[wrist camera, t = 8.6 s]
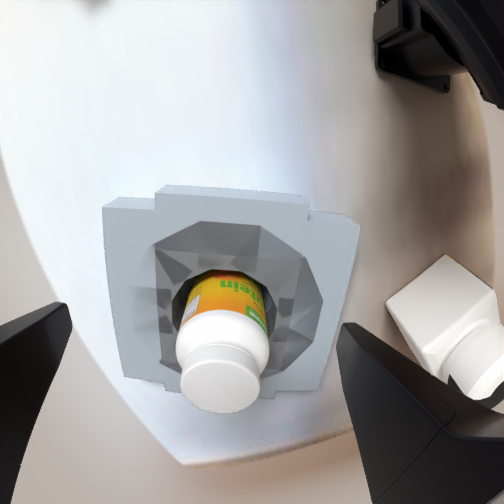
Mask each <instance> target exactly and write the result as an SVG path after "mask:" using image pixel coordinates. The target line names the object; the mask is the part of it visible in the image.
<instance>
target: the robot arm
mask: <svg viewBox="0 0 504 504" xmlns="http://www.w3.org/2000/svg"><path fill="white" fill-rule="evenodd" d="M382 2H384V3H385V5H384V4H383V3H382ZM373 41H374V43H375V44H376V54H375V67H376V68H377V70H378V71H380V72H383V73H386V74H390V75H393V76H396V77H399V78H402V79H405V80H408V81H411V82H414V83H416V84H419V85H422V86H424V87H427V88H430V89H432V90H435V91H437V92H440V93H443V94H445V93H448V92H449V90H450V75H453V74H459V73H465V72H469V73H470V75H471V77H472V78H473V80H474V82H475V83H476V85H477V87H478V88H479V90H480V95H481V96H482V98H483V100H484V101H487V102H489V103H492V104H495V105H496V106H497V108H499V109H501V110H504V0H377V2H376V12H375V13H374V28H373ZM381 62H382V63H383V64H384V66H385V67H384V68H383V67H382V66H381V64H380V63H381ZM443 86H444V88H445V89H443ZM71 331H72V321H71V317H70V313H69V309H68V306H67V304H65V303H61V302H54V303H51V304H49V305H47V306H45V307H43V308H40V309H37V310H35V311H33V312H31V313H28V314H26V315H24V316H21V317H19V318H17V319H15V320H12V321H10V322H8V323H5V324H3V325H1V326H0V504H10V503H11V500H12V496H13V492H14V488H15V484H16V480H17V477H18V473H19V470H20V467H21V465H20V464H21V463H22V460H23V456H24V454H25V450H26V447H27V444H28V441H29V439H30V436H31V433H32V430H33V428H34V425H35V422H36V420H37V417H38V414H39V412H40V409H41V407H42V404H43V402H44V399H45V397H46V395H47V392H48V390H49V388H50V385H51V383H52V381H53V378H54V376H55V374H56V372H57V370H58V367H59V365H60V362H61V359H62V356H63V354H64V350H65V348H66V345H67V342H68V340H69V337H70V334H71ZM336 351H337V357H338V363H339V369H340V375H341V381H342V387H343V392H344V395H345V399H346V403H347V406H348V410H349V413H350V417H351V421H352V424H353V428H354V432H355V435H356V439H357V443H358V446H359V451H360V455H361V458H362V463H363V467H364V471H365V475H366V479H367V483H368V487H369V491H370V495H371V500H372V503H373V504H504V414H501V413H498V412H496V411H494V410H492V409H490V408H488V407H486V406H484V405H482V404H481V403H479V402H477V401H475V400H473V399H472V398H470V397H468V396H466V395H464V394H463V393H461V392H459V391H457V390H456V389H454V388H452V387H451V386H449V385H448V384H446V383H444V382H443V381H441V380H440V379H438V378H437V377H435V376H434V375H431V373H429V372H428V371H427V370H425V369H424V368H422V367H421V366H419V365H418V364H416V363H415V362H413V361H412V360H410V359H409V358H407V357H406V356H404V355H403V354H401V353H400V352H398V351H397V350H395V349H394V348H392V347H391V346H389V345H388V344H386V343H385V342H384V341H382V340H381V339H379V338H378V337H376V336H375V335H373V334H372V333H370V332H369V331H367V330H366V329H364V328H363V327H361V326H360V325H358V324H357V323H354V322H351V323H343V324H342V326H341V329H340V333H339V337H338V340H337V345H336Z"/></svg>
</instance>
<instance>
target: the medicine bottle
mask: <svg viewBox="0 0 504 504" xmlns="http://www.w3.org/2000/svg"><path fill="white" fill-rule="evenodd" d="M385 304H386V307H387V309H388V311H389V312H390V314H391V316H392V318H393V319H394V321H395V323H396V324H397V326H398V328H399V330H400V332H401V333H402V335H403V337H404V339H405V340H406V342H407V344H408V346H409V348H410V349H411V351H412V352H413V354H414V355H415V357H416V358H417V359H418V361H419V362H420V364H421V365H422V367H423V368H424V369H425V370H427V371H428V372H429V373H431V375H434V376H435V377H437V378H438V379H440V380H441V381H443V382H444V383H446V384H448V385H449V386H451V387H452V388H454V389H456V390H457V391H459V392H461V393H463V394H464V395H466V396H468V397H470V398H472V399H473V400H475V401H477V402H479V403H481V404H482V405H484V406H486V407H488V408H490V409H491V408H493V407H495V406H496V405H497V404H499V403H500V402H501V401H502V400H503V399H504V327H503V326H502V325H501V324H500V317H499V310H498V304H497V298H496V293H495V291H494V289H493V288H492V287H490V286H489V285H488V284H487V283H485V282H484V281H483V280H481V279H480V278H479V277H477V276H476V275H475V274H473V273H472V272H471V271H469V270H468V269H467V268H465V267H464V266H463V265H461V264H460V263H458V262H457V261H456V260H454V259H453V258H451V257H450V256H449V255H443V256H442V257H441V258H440V259H439V260H437V261H436V262H435V263H434V264H433V265H431V266H430V267H429V268H428V269H427V270H425V271H424V272H423V273H422V274H420V275H419V276H418V277H417V278H416V279H414V280H413V281H412V282H410V283H409V284H408V285H407V286H405V287H404V288H403V289H401V290H400V291H399V292H398V293H396V294H395V295H394V296H392V297H391V298H390V299H388V300H387V301H386V303H385Z"/></svg>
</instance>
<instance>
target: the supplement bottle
mask: <svg viewBox="0 0 504 504" xmlns="http://www.w3.org/2000/svg"><path fill="white" fill-rule="evenodd" d="M269 352H270V351H269V338H268V332H267V324H266V316H265V309H264V300H263V294H262V289H261V286H260V284H259V282H258V281H257V280H255V279H253V278H252V277H250V276H249V275H247V274H245V273H244V272H242V271H231V270H218V269H210V270H208V271H206V272H203V273H201V274H200V275H199V276H198V277H197V278H196V280H195V281H194V283H193V286H192V288H191V291H190V294H189V298H188V301H187V304H186V308H185V311H184V315H183V318H182V322H181V325H180V329H179V332H178V336H177V341H176V356H177V360H178V362H179V364H180V366H181V368H182V374H181V380H180V386H181V391H182V393H183V395H184V396H185V398H186V399H187V400H188V401H189V402H190V403H191V404H193V405H194V406H196V407H198V408H200V409H202V410H205V411H208V412H213V413H233V412H238V411H240V410H243V409H245V408H247V407H249V406H250V405H251V404H253V403H254V402H255V400H256V399H257V397H258V395H259V392H260V374H261V373H262V372H263V370H264V369H265V367H266V365H267V362H268V359H269Z"/></svg>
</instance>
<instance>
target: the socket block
mask: <svg viewBox="0 0 504 504" xmlns="http://www.w3.org/2000/svg"><path fill="white" fill-rule="evenodd" d="M309 207H310V205H309V204H308V203H307V202H306V201H305V200H304V199H303V198H302V197H301V196H300V195H293V194H283V193H273V192H263V191H252V190H240V189H227V188H213V187H198V186H180V185H166V186H164V187H163V188H161V189H160V190H159V191H157V192H156V193H155V199H151V198H127V197H119V198H117V199H115V200H114V201H112V202H110V203H108V204H107V205H105V206H103V207H102V217H103V235H104V249H105V261H106V271H107V280H108V288H109V296H110V303H111V310H112V317H113V323H114V329H115V334H116V340H117V345H118V350H119V355H120V360H121V365H122V370H123V374H124V377H129V378H134V379H141V380H147V381H154V382H161V383H165V391H170V392H178V393H182V391H181V386H180V380H181V374H182V368H181V366H180V364H179V362H178V360H177V356H176V341H177V336H178V332H179V329H180V325H181V322H182V318H183V315H184V311H185V310H184V309H183V307H182V305H181V304H180V298H179V289H180V288H181V286H182V285H183V283H184V282H185V280H187V279H190V278H192V277H194V276H197V275H199V274H201V273H203V272H206V271H208V270H210V269H218V270H231V271H242V272H244V273H245V274H247V275H249V276H250V277H252V278H253V279H255V280H257V281H258V282H260V283H261V284H263V285H265V286H266V287H267V289H268V291H269V293H270V295H271V297H272V300H271V307H270V310H269V311H268V312H267V313H266V315H265V316H266V324H267V332H268V338H269V351H270V352H269V359H268V362H267V365H266V367H265V369H264V370H263V372H262V373H261V374H260V392H259V395H258V397H257V398H264V399H274V397H275V392H276V391H317V390H318V387H319V384H320V381H321V378H322V375H323V372H324V369H325V366H326V362H327V359H328V356H329V353H330V350H331V346H332V343H333V340H334V336H335V333H336V329H337V326H338V322H339V319H340V315H341V311H342V307H343V304H344V300H345V296H346V292H347V288H348V284H349V280H350V276H351V272H352V267H353V263H354V259H355V254H356V249H357V245H358V240H359V235H360V230H361V227H360V226H359V225H358V224H357V223H355V222H354V221H353V220H352V219H350V218H349V217H348V216H347V215H343V214H334V213H325V212H317V211H309Z"/></svg>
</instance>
